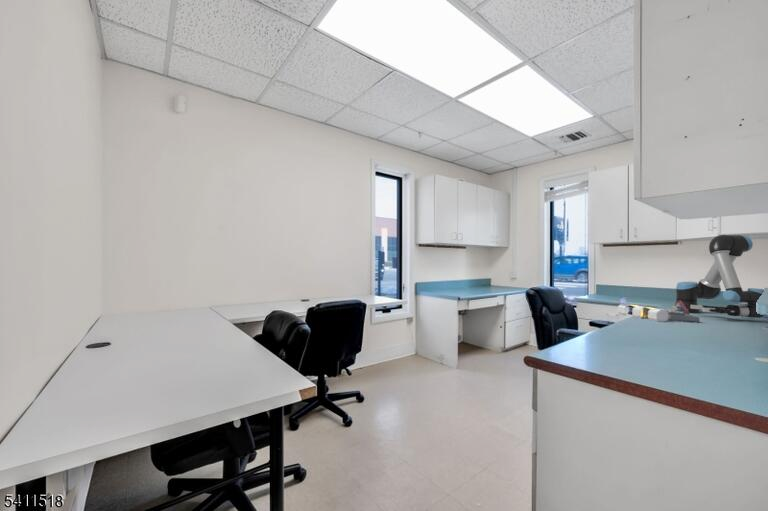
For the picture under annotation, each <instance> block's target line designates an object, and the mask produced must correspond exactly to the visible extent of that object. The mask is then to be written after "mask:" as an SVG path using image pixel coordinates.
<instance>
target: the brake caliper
mask: <svg viewBox="0 0 768 511" xmlns="http://www.w3.org/2000/svg"><path fill="white" fill-rule="evenodd" d="M675 303H676V302H675ZM675 303H674V305H673V306H670V309H666V311H668V312H672V313H686V314H689V315H691V314H690V313H689V312H688V309H686V307H685V306H684V305H683V303H682V302H681V301H678V302H677V303H676V304H675ZM681 304H682V305H681ZM683 306H684V307H683ZM681 307H682V308H683V310H682V308H681Z"/></svg>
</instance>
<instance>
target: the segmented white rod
mask: <svg viewBox="0 0 768 511" xmlns="http://www.w3.org/2000/svg"><path fill="white" fill-rule="evenodd" d="M619 301H620V302H618V303H619V305H618V306H617V313H618V315H620V316H621V315H622V316H627V315H629V316H630V315H631V316H632V317H633V316H635V317H634V318H636V317H637V318H636V319H642V318H646V317H648V318H647V319H648V320H649V321H652V320H653V321H652V322H657V321H661V322H668V321H669V320H668V311H667V310H666V309H664V308H656V307H650V306H642V305H637V304H630V303H627V298H626V296H625V297H624V296H623V297H622V298H620V299H619ZM626 308H628V312H627V314H626Z"/></svg>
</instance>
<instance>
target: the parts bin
mask: <svg viewBox="0 0 768 511" xmlns="http://www.w3.org/2000/svg"><path fill="white" fill-rule="evenodd" d="M667 321H670V322H671V321H672V322H681V321H683V323H694V322H697V323H696V324H699V323H700V317H699V316H697V315H692V314H686V313H672V312H668V320H667Z"/></svg>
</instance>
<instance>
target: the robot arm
mask: <svg viewBox="0 0 768 511" xmlns="http://www.w3.org/2000/svg"><path fill="white" fill-rule="evenodd" d="M708 246H709V247H708V251H709V254H710V255H711V256H712V257H713V259H714V262H713V264H712V265H711V267H710V268H709V271H708V272H707V273H706V275H705V277H704V278H702V279H699V281H698V282H696V281H680V282H677V283H676V287H675V288H676V289H675V290H676V292H675V293H676V296H675V297H676V300H675V303H674V305H675V304H676V303H677V302H678V301H681V302H682V303H683V305H684V306H685V307H686V309H688V312H689V313H691V314H700V313H701V311H702V312H704V313H717V314H718V313H719V314H727V315H728V316H729V317H730V316H731V317H741V318H744V317H745V318H746V317H747V318H758V319H760V318H762V319H763V318H764V319H767V318H768V316H766V315H760V314H757V312H756V302H757V300H758V299H759V297H760V296H761V295H762V293H763V292H764V290H765V289H763V288H753V287H750V288H747V290H743V288H742V285H741V283H740V280H739V277H738V275H737V272H736V270H735V267H734V264H733V263H734V262H735V260H736V259H737V258H739V257H741V256H742V255H743V254H744V253H746V252H749V251H751V250H752V248H753V241H752V239H751V237H749V236H747V235H742V234H741V235H740V234H719V235H717V236H716V235H715V237H713V238H711V240H710V242H709V244H708ZM721 281H722V284H723V287H724V289H725V290H724V292H723V293H722V288H721V285H720V283H721ZM721 294H722V297H723V299H724V300H725V301H726V302H731V303H747V305H742V304H740V305H739V304H728V305H726V307H725V306H718V305H717V306H716V305H713V306H712V305H706V304H705V305H703V304H701V305H700V304H699V303H698V299H703V300H704V299H705V300H712V299H717V298H718V297H720V296H721ZM681 305H682V304H681ZM684 306H683V307H684ZM681 308H682V307H681ZM682 310H683V308H682Z"/></svg>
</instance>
